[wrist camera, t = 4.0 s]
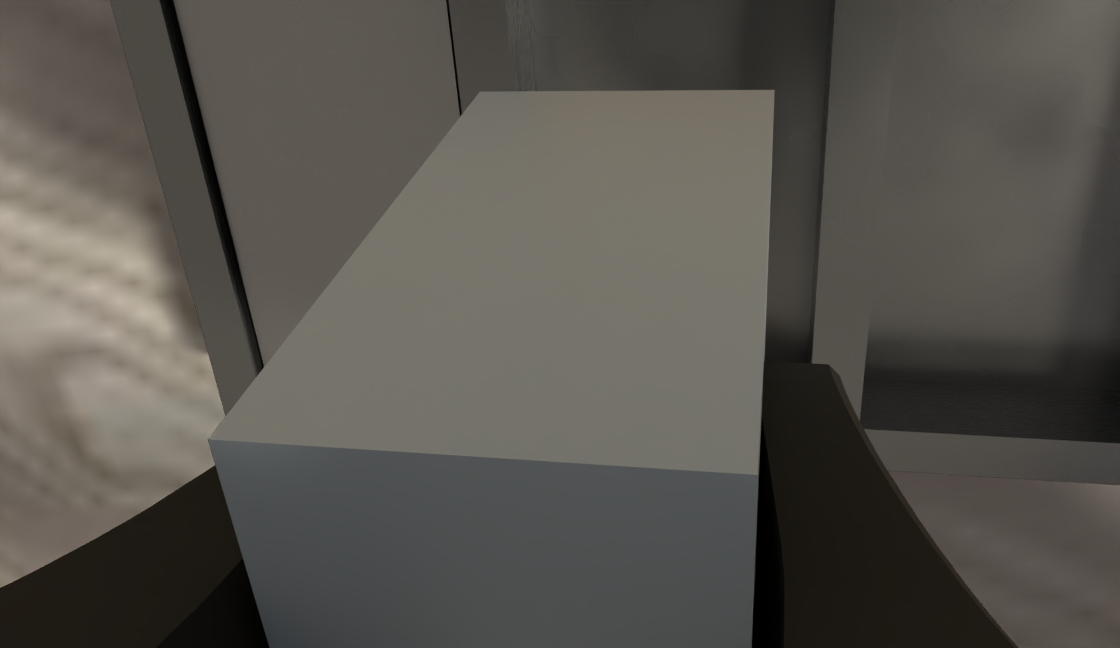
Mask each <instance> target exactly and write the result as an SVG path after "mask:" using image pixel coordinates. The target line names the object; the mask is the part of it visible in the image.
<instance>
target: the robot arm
mask: <svg viewBox="0 0 1120 648" xmlns="http://www.w3.org/2000/svg"><path fill="white" fill-rule="evenodd" d="M0 648H270V647H269V644H268V641H267V637H266V634H265V631H264V627H263V624H262V620H261V617H260V614H259V610H258V607H257V604H256V600H255V597H254V594H253V590H252V587H251V583H250V580H249V577H248V573H247V570H246V567H245V563H244V560H243V556H242V553H241V550H240V546H239V543H238V540H237V536H236V533H235V530H234V526H233V523H232V519H231V516H230V513H229V509H228V506H227V503H226V499H225V496H224V492H223V489H222V486H221V482H220V479H219V476H218V472H217V469H216V465H215V466H213V467H212V468H210V469H209V470H207V471H206V472H204V473H203V474H201V475H199V476H198V477H196V478H195V479H193V480H192V481H190V482H189V483H187V484H185V485H184V486H182V487H181V488H179V489H178V490H176V491H174V492H173V493H171V494H170V495H168V496H167V497H165V498H164V499H162V500H160V501H159V502H157V503H156V504H154V505H153V506H151V507H150V508H148V509H146V510H145V511H143V512H141V513H139V514H138V515H136V516H134V517H133V518H131V519H129V520H128V521H126V522H124V523H123V524H121V525H119V526H117V527H115V528H114V529H112V530H110V531H108V532H107V533H105V534H103V535H101V536H100V537H98V538H96V539H94V540H92V541H91V542H89V543H87V544H85V545H83V546H81V547H79V548H77V549H76V550H74V551H72V552H70V553H68V554H66V555H64V556H62V557H61V558H59V559H57V560H55V561H53V562H51V563H49V564H47V565H45V566H44V567H42V568H40V569H38V570H36V571H34V572H32V573H30V574H28V575H26V576H24V577H22V578H20V579H18V580H16V581H14V582H12V583H10V584H8V585H5V586H3V587H1V588H0ZM753 648H1018V647H1017V646H1016V645H1015V644H1014V642H1013V641H1012V640H1011V639H1010V638H1009V637H1008V636H1007V634H1006V633H1005V632H1004V631H1003V630H1002V629H1001V627H1000V626H999V625H998V624H997V623H996V621H995V620H994V619H993V618H992V617H991V615H990V614H989V613H988V612H987V610H986V609H985V608H984V607H983V605H982V604H981V603H980V602H979V600H978V599H977V598H976V597H975V595H974V594H973V593H972V592H971V590H970V589H969V588H968V587H967V585H966V584H965V583H964V581H963V580H962V578H961V577H960V576H959V574H958V573H957V572H956V570H955V569H954V568H953V566H952V565H951V564H950V562H949V561H948V560H947V558H946V557H945V556H944V554H943V553H942V552H941V550H940V549H939V548H938V546H937V545H936V544H935V542H934V541H933V539H932V538H931V536H930V535H929V533H928V532H927V531H926V529H925V528H924V526H923V525H922V523H921V522H920V521H919V519H918V518H917V516H916V514H915V513H914V511H913V510H912V508H911V507H910V505H909V504H908V502H907V500H906V499H905V497H904V496H903V494H902V493H901V491H900V490H899V488H898V486H897V485H896V483H895V482H894V480H893V479H892V477H891V476H890V474H889V472H888V471H887V469H886V467H885V466H884V464H883V462H882V461H881V459H880V457H879V456H878V454H877V452H876V450H875V449H874V447H873V445H872V443H871V441H870V439H869V438H868V436H867V434H866V432H865V430H864V428H863V427H862V425H861V423H860V421H859V419H858V417H857V415H856V413H855V411H854V409H853V407H852V404H851V402H850V400H849V398H848V395H847V393H846V391H845V388H844V386H843V383H842V380H841V377H840V375H839V374H838V373H837V372H836V371H835V370H834V369H833V368H832V367H831V366H830V365H829V364H811V363H788V362H766V361H764V372H763V394H762V417H761V444H760V471H759V498H758V525H757V552H756V580H755V607H754V634H753Z"/></svg>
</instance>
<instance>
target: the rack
mask: <svg viewBox="0 0 1120 648" xmlns="http://www.w3.org/2000/svg"><path fill="white" fill-rule="evenodd" d="M110 2H111V6H112V9H113V13H114V16H115V20H116V24H117V27H118V31H119V34H120V38H121V42H122V45H123V49H124V52H125V56H126V60H127V63H128V67H129V70H130V74H131V78H132V81H133V85H134V88H135V92H136V96H137V99H138V103H139V106H140V110H141V114H142V117H143V121H144V124H145V128H146V132H147V135H148V139H149V142H150V146H151V150H152V153H153V157H154V160H155V164H156V168H157V171H158V175H159V178H160V182H161V186H162V189H163V193H164V196H165V200H166V203H167V207H168V211H169V214H170V218H171V221H172V225H173V229H174V232H175V236H176V239H177V243H178V247H179V250H180V254H181V257H182V261H183V265H184V268H185V272H186V275H187V279H188V283H189V286H190V290H191V293H192V297H193V301H194V304H195V308H196V311H197V315H198V319H199V322H200V326H201V329H202V333H203V337H204V340H205V344H206V347H207V351H208V355H209V358H210V362H211V365H212V369H213V373H214V376H215V380H216V383H217V387H218V390H219V394H220V398H221V401H222V405H223V408H224V412H225V416H226V415H227V414H228V413H229V411H230V410H231V409H232V408H233V406H234V405H235V404H236V403H237V401H238V400H239V399H240V397H241V396H242V395H243V394H244V392H245V391H246V390H247V388H248V387H249V386H250V385H251V383H252V382H253V381H254V380H255V378H256V377H257V376H258V374H259V373H260V372H261V371H262V369H263V368H264V367H265V365H266V364H267V363H268V362H269V360H270V359H271V358H272V357H273V355H274V354H275V353H276V351H277V350H278V349H279V348H280V346H281V345H282V344H283V342H284V341H285V340H286V339H287V337H288V336H289V335H290V334H291V332H292V331H293V330H294V328H295V327H296V326H297V325H298V323H299V322H300V321H301V319H302V318H303V317H304V316H305V314H306V313H307V312H308V311H309V309H310V308H311V307H312V305H313V304H314V303H315V302H316V300H317V299H318V298H319V296H320V295H321V294H322V293H323V291H324V290H325V289H326V288H327V286H328V285H329V284H330V282H331V281H332V280H333V279H334V277H335V276H336V275H337V274H338V272H339V271H340V270H341V268H342V267H343V266H344V265H345V263H346V262H347V261H348V259H349V258H350V257H351V256H352V254H353V253H354V252H355V251H356V249H357V248H358V247H359V245H360V244H361V243H362V242H363V240H364V239H365V238H366V236H367V235H368V234H369V233H370V231H371V230H372V229H373V228H374V226H375V225H376V224H377V222H378V221H379V220H380V219H381V217H382V216H383V215H384V213H385V212H386V211H387V210H388V208H389V207H390V206H391V205H392V203H393V202H394V201H395V199H396V198H397V197H398V196H399V194H400V193H401V192H402V190H403V189H404V188H405V187H406V185H407V184H408V183H409V182H410V180H411V179H412V178H413V176H414V175H415V174H416V173H417V171H418V170H419V169H420V167H421V166H422V165H423V164H424V162H425V161H426V160H427V159H428V157H429V156H430V155H431V153H432V152H433V151H434V150H435V148H436V147H437V146H438V144H439V143H440V142H441V141H442V139H443V138H444V137H445V136H446V134H447V133H448V132H449V130H450V129H451V128H452V127H453V125H454V124H455V123H456V121H457V120H458V119H459V118H460V116H461V115H462V114H463V113H464V111H465V110H466V109H467V107H468V106H469V105H470V104H471V102H472V101H473V100H474V98H475V97H476V96H477V95H478V93H479V92H502V91H665V90H775V92H774V119H773V145H772V172H771V199H770V226H769V252H768V279H767V306H766V332H765V359H764V361H766V362H788V363H811V364H829V365H830V366H831V367H832V368H833V369H834V370H835V371H836V372H837V373H838V374H839V375H840V377H841V380H842V383H843V386H844V388H845V391H846V393H847V395H848V398H849V400H850V402H851V404H852V407H853V409H854V411H855V413H856V415H857V417H858V419H859V421H860V423H861V425H862V427H863V428H864V430H865V432H866V434H867V436H868V438H869V439H870V441H871V443H872V445H873V447H874V449H875V450H876V452H877V454H878V456H879V457H880V459H881V461H882V462H883V464H884V466H885V467H886V469H887V471H903V472H919V473H935V474H951V475H966V476H982V477H998V478H1014V479H1030V480H1046V481H1062V482H1077V483H1093V484H1109V485H1120V0H110Z"/></svg>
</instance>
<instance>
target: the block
mask: <svg viewBox="0 0 1120 648" xmlns="http://www.w3.org/2000/svg"><path fill="white" fill-rule="evenodd" d="M774 92H775V90H665V91H502V92H479V93H478V95H477V96H476V97H475V98H474V100H473V101H472V102H471V104H470V105H469V106H468V107H467V109H466V110H465V111H464V113H463V114H462V115H461V116H460V118H459V119H458V120H457V121H456V123H455V124H454V125H453V127H452V128H451V129H450V130H449V132H448V133H447V134H446V136H445V137H444V138H443V139H442V141H441V142H440V143H439V144H438V146H437V147H436V148H435V150H434V151H433V152H432V153H431V155H430V156H429V157H428V159H427V160H426V161H425V162H424V164H423V165H422V166H421V167H420V169H419V170H418V171H417V173H416V174H415V175H414V176H413V178H412V179H411V180H410V182H409V183H408V184H407V185H406V187H405V188H404V189H403V190H402V192H401V193H400V194H399V196H398V197H397V198H396V199H395V201H394V202H393V203H392V205H391V206H390V207H389V208H388V210H387V211H386V212H385V213H384V215H383V216H382V217H381V219H380V220H379V221H378V222H377V224H376V225H375V226H374V228H373V229H372V230H371V231H370V233H369V234H368V235H367V236H366V238H365V239H364V240H363V242H362V243H361V244H360V245H359V247H358V248H357V249H356V251H355V252H354V253H353V254H352V256H351V257H350V258H349V259H348V261H347V262H346V263H345V265H344V266H343V267H342V268H341V270H340V271H339V272H338V274H337V275H336V276H335V277H334V279H333V280H332V281H331V282H330V284H329V285H328V286H327V288H326V289H325V290H324V291H323V293H322V294H321V295H320V296H319V298H318V299H317V300H316V302H315V303H314V304H313V305H312V307H311V308H310V309H309V311H308V312H307V313H306V314H305V316H304V317H303V318H302V319H301V321H300V322H299V323H298V325H297V326H296V327H295V328H294V330H293V331H292V332H291V334H290V335H289V336H288V337H287V339H286V340H285V341H284V342H283V344H282V345H281V346H280V348H279V349H278V350H277V351H276V353H275V354H274V355H273V357H272V358H271V359H270V360H269V362H268V363H267V364H266V365H265V367H264V368H263V369H262V371H261V372H260V373H259V374H258V376H257V377H256V378H255V380H254V381H253V382H252V383H251V385H250V386H249V387H248V388H247V390H246V391H245V392H244V394H243V395H242V396H241V397H240V399H239V400H238V401H237V403H236V404H235V405H234V406H233V408H232V409H231V410H230V411H229V413H228V414H227V415H226V417H225V418H224V419H223V420H222V422H221V423H220V424H219V426H218V427H217V428H216V429H215V431H214V432H213V433H212V434H211V436H210V437H209V438H208V442H209V445H210V449H211V452H212V455H213V459H214V462H215V465H216V469H217V472H218V476H219V479H220V482H221V486H222V489H223V492H224V496H225V499H226V503H227V506H228V509H229V513H230V516H231V519H232V523H233V526H234V530H235V533H236V536H237V540H238V543H239V546H240V550H241V553H242V556H243V560H244V563H245V567H246V570H247V573H248V577H249V580H250V583H251V587H252V590H253V594H254V597H255V600H256V604H257V607H258V610H259V614H260V617H261V620H262V624H263V627H264V631H265V634H266V637H267V641H268V644H269V647H270V648H753V634H754V607H755V580H756V552H757V525H758V498H759V471H760V444H761V417H762V394H763V372H764V359H765V332H766V306H767V279H768V252H769V226H770V199H771V172H772V145H773V119H774Z"/></svg>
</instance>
